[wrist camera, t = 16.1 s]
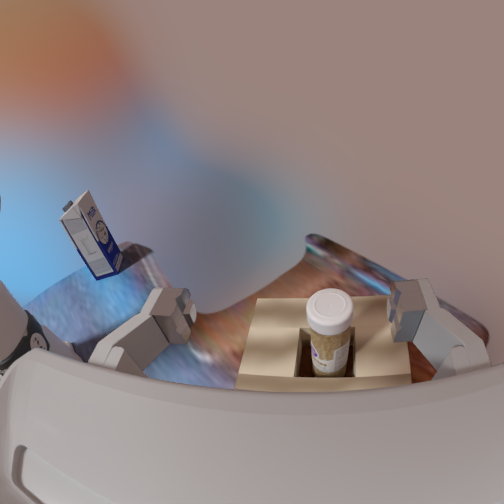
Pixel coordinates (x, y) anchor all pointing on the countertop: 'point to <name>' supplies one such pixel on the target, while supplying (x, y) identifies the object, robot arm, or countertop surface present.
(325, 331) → the sprinkles bottle
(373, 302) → the bottle holder
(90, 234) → the milk carton
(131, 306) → the countertop surface
